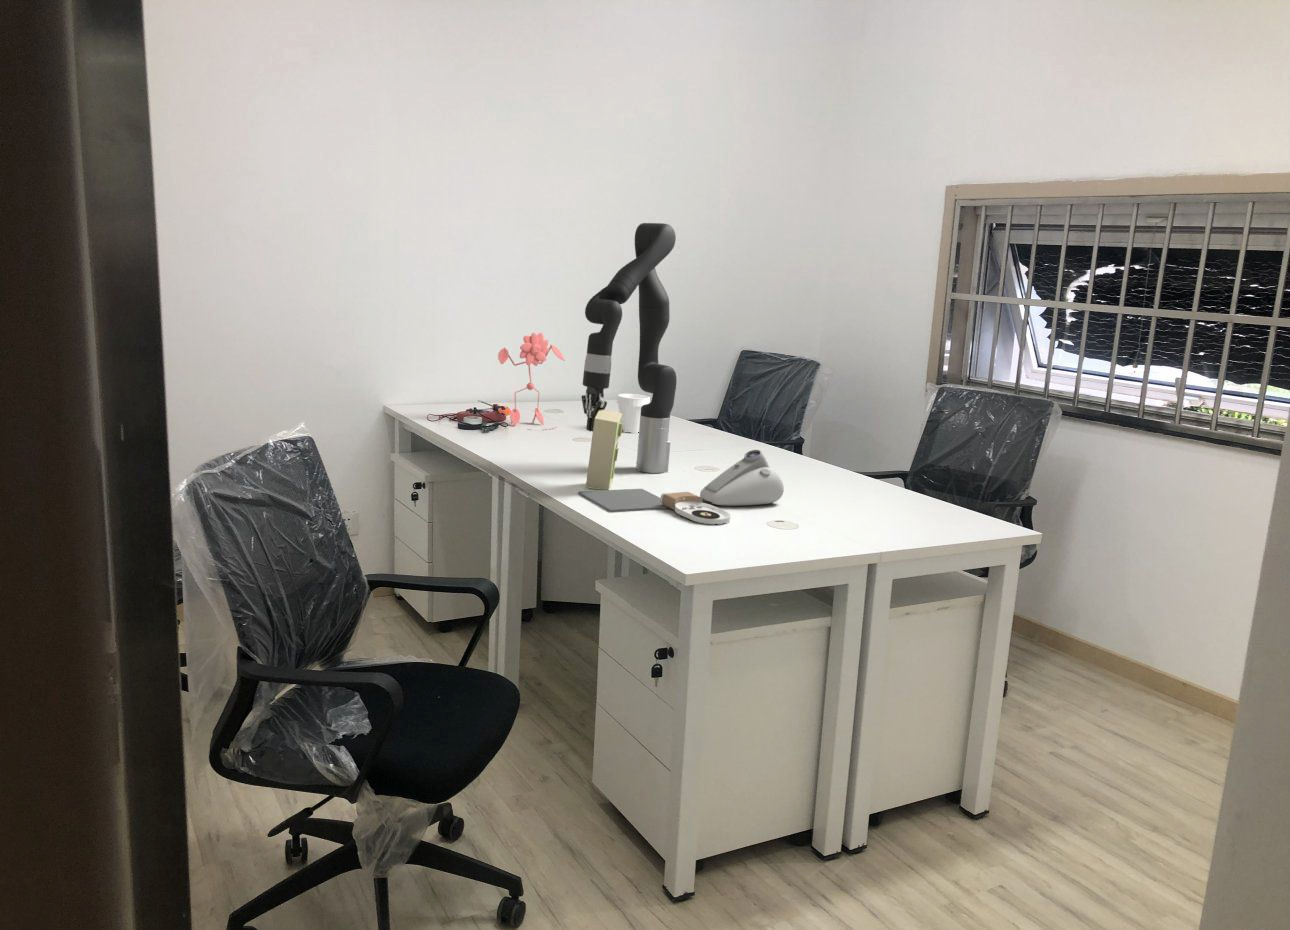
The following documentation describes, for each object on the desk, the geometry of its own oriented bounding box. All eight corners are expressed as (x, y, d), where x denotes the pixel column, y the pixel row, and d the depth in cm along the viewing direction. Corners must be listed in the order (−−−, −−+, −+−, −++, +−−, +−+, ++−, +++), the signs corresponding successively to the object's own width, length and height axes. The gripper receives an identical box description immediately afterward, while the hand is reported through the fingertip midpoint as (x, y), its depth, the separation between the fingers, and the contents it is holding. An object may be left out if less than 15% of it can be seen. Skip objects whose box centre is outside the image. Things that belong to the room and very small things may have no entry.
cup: (647, 435, 372) (650, 399, 370) (614, 433, 372) (617, 397, 370) (647, 430, 384) (650, 395, 382) (615, 427, 384) (618, 392, 382)
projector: (704, 488, 294) (708, 439, 291) (782, 497, 291) (787, 447, 288) (697, 505, 272) (702, 453, 269) (781, 515, 270) (787, 462, 267)
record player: (691, 490, 272) (740, 511, 257) (689, 501, 273) (738, 523, 258) (657, 493, 265) (705, 515, 250) (656, 504, 266) (704, 527, 251)
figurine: (489, 423, 370) (495, 329, 363) (550, 422, 385) (557, 331, 377) (508, 432, 358) (515, 334, 351) (570, 430, 373) (578, 336, 365)
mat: (641, 490, 284) (641, 488, 284) (676, 508, 267) (677, 506, 267) (577, 493, 274) (577, 491, 274) (610, 512, 257) (610, 509, 257)
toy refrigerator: (611, 492, 280) (620, 422, 272) (585, 487, 281) (593, 418, 272) (615, 481, 287) (624, 413, 279) (590, 476, 288) (598, 408, 280)
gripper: (619, 374, 278) (612, 435, 281) (599, 368, 290) (593, 427, 292) (594, 372, 275) (588, 434, 277) (575, 366, 286) (569, 426, 289)
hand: (590, 430), depth 285 cm, fingers closed
